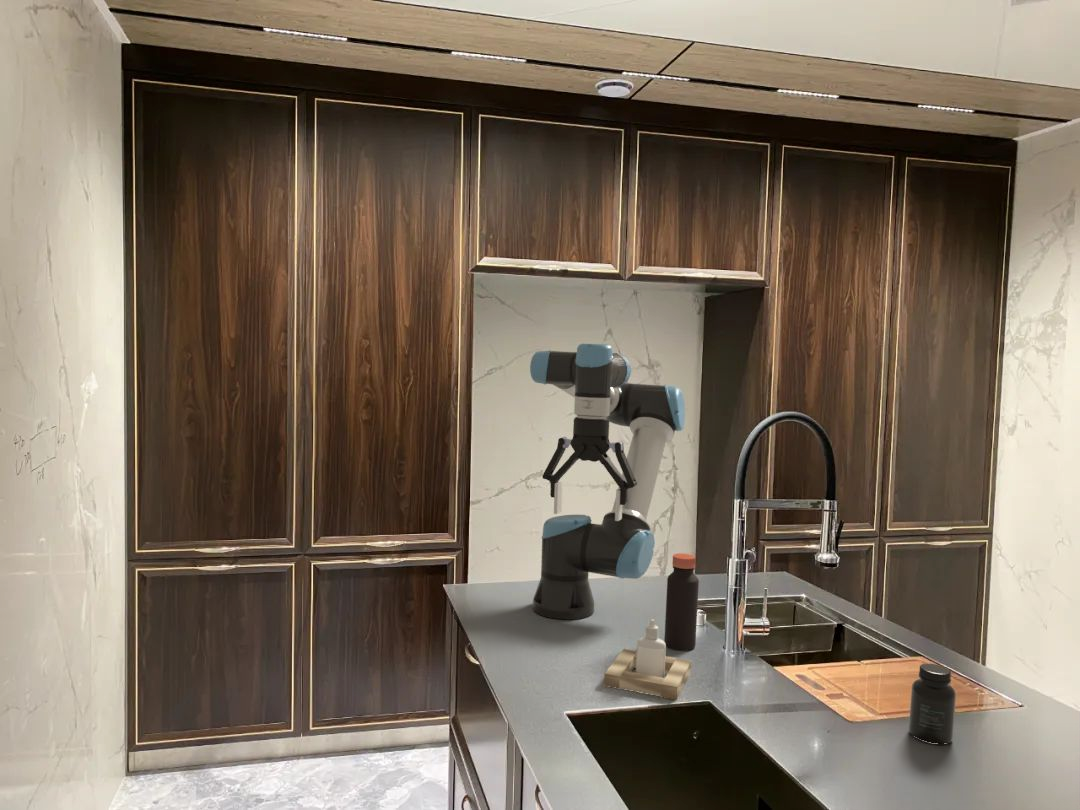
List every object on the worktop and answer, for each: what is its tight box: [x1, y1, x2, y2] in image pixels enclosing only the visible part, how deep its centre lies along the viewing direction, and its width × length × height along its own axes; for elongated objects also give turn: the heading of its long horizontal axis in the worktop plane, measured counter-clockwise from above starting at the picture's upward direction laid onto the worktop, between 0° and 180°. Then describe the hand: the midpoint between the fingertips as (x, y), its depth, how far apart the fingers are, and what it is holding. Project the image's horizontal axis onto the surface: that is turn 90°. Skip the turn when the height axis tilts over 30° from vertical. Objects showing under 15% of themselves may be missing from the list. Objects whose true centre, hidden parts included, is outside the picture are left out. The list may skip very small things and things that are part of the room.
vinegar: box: [663, 552, 700, 652], centre depth 177 cm, size 7×7×20 cm
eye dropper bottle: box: [635, 618, 667, 678], centre depth 159 cm, size 4×6×12 cm
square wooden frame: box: [603, 648, 692, 701], centre depth 159 cm, size 14×14×2 cm
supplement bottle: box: [908, 663, 957, 744], centre depth 139 cm, size 7×7×12 cm
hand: (587, 516), depth 172 cm, fingers open, 13 cm apart
